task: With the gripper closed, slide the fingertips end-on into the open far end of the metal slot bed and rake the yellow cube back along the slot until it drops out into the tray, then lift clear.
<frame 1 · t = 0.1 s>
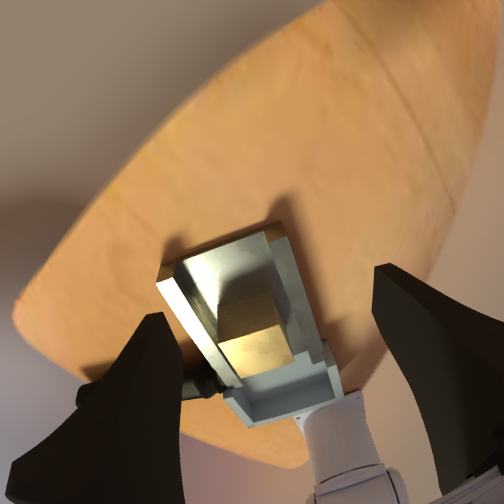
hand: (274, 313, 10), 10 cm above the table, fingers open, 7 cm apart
yellow cube: (252, 319, 23), resting on slot bed
slot bed: (249, 310, 23), on the table
tray: (282, 376, 28), on the table
electric trimmer: (151, 376, 26), on the table, touching slot bed, tray
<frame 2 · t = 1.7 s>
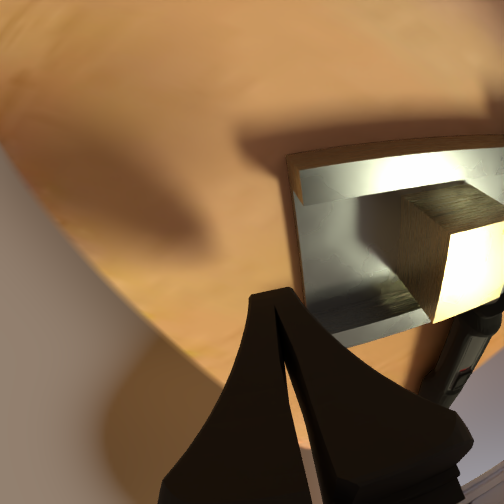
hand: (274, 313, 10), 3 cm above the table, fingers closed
yellow cube: (434, 229, 13), resting on slot bed
slot bed: (421, 226, 13), on the table
electric trimmer: (444, 353, 19), on the table, touching slot bed, tray
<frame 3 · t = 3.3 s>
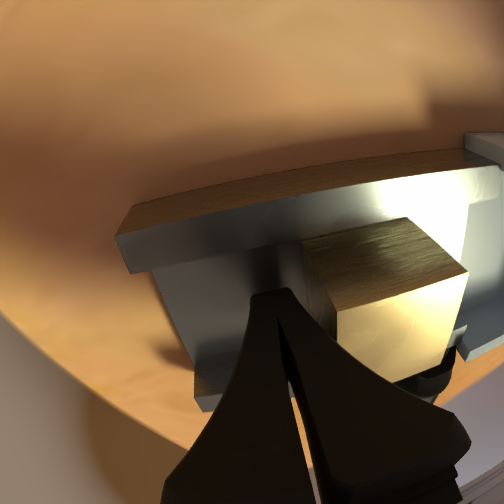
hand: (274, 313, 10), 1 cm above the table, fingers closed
yellow cube: (358, 277, 11), point 1 cm above the table, touching gripper
slot bed: (329, 275, 12), on the table
tray: (498, 231, 12), on the table
electric trimmer: (391, 398, 17), on the table, touching slot bed, tray
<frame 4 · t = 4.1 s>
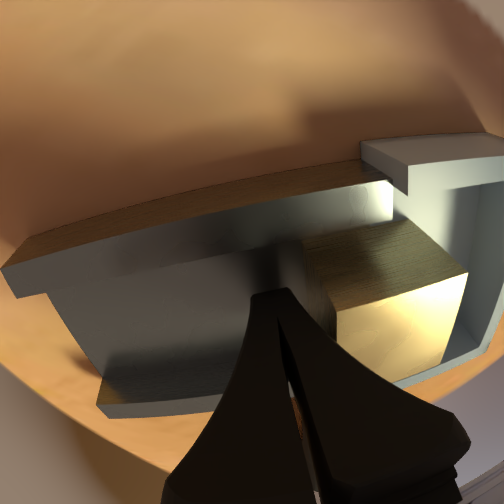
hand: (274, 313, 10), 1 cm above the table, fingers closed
yellow cube: (358, 277, 11), point 1 cm above the table, touching gripper, slot bed, tray
slot bed: (207, 301, 12), on the table
tray: (427, 250, 12), on the table
electric trimmer: (323, 419, 17), on the table, touching slot bed, tray
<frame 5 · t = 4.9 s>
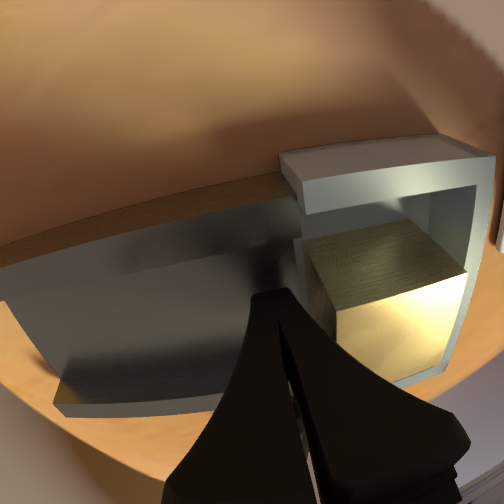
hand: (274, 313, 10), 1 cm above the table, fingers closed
yellow cube: (358, 277, 11), point 1 cm above the table, touching gripper, tray
slot bed: (141, 312, 12), on the table
tray: (371, 264, 12), on the table
electric trimmer: (280, 428, 17), on the table, touching slot bed, tray
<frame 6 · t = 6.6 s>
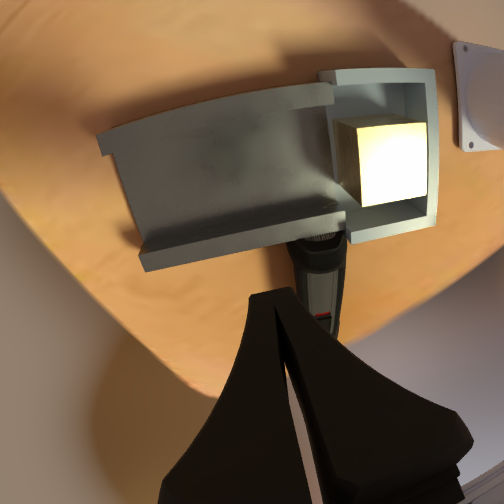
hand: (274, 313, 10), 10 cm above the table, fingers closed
yellow cube: (366, 148, 17), resting on tray
slot bed: (227, 170, 18), on the table
tray: (373, 144, 18), on the table
electric trimmer: (315, 303, 23), on the table, touching slot bed, tray
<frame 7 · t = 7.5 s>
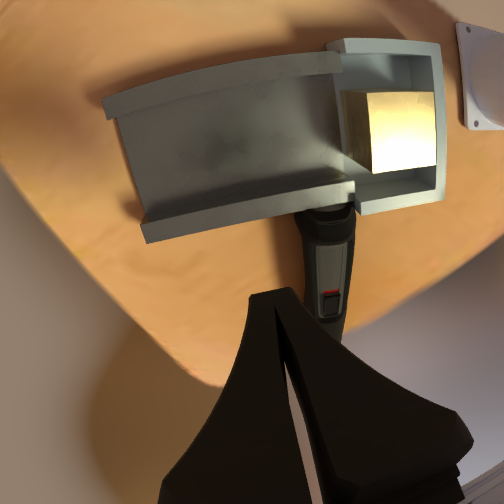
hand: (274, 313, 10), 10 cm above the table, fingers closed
yellow cube: (374, 120, 16), resting on tray
slot bed: (234, 138, 17), on the table
tray: (380, 118, 17), on the table
electric trimmer: (322, 283, 22), on the table, touching slot bed, tray
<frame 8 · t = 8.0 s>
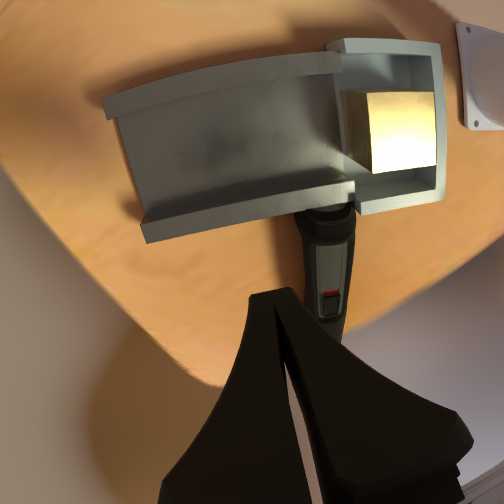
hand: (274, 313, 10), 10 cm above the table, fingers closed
yellow cube: (374, 120, 16), resting on tray
slot bed: (234, 138, 17), on the table
tray: (380, 118, 17), on the table
electric trimmer: (322, 283, 22), on the table, touching slot bed, tray
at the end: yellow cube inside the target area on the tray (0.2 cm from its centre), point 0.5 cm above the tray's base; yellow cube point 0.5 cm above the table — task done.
